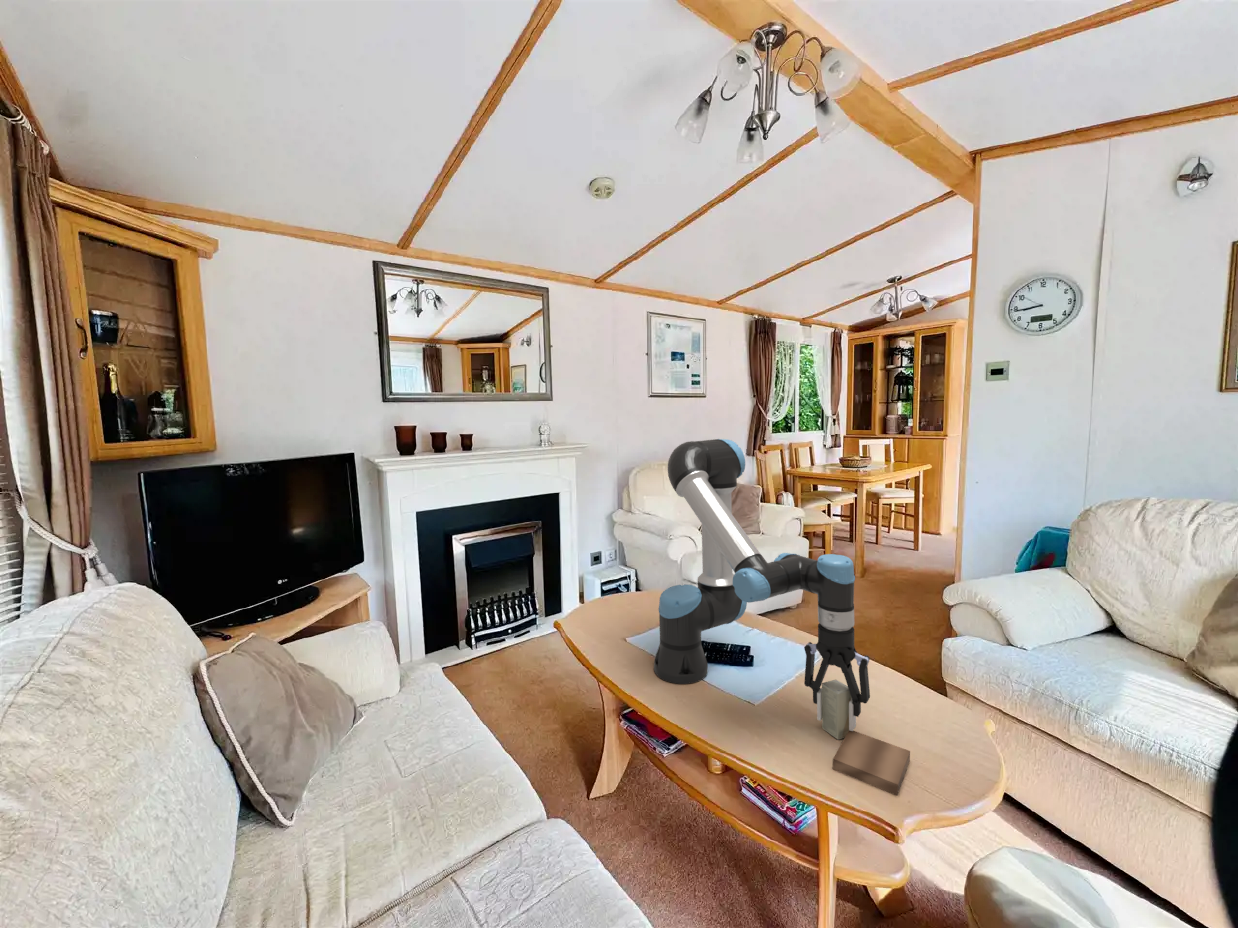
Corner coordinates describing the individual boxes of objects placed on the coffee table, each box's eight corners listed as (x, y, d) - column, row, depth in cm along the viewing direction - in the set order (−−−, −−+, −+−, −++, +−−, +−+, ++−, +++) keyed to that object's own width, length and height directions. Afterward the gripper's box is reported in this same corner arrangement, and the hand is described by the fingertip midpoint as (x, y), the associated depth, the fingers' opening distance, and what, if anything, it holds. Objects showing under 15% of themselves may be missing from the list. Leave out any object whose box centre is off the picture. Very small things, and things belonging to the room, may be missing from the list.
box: (852, 735, 117) (853, 689, 116) (837, 740, 115) (838, 693, 114) (834, 722, 122) (835, 678, 121) (820, 727, 120) (821, 682, 119)
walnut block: (832, 771, 107) (833, 758, 107) (849, 741, 116) (849, 729, 116) (897, 798, 99) (897, 784, 99) (909, 764, 109) (910, 750, 108)
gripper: (787, 621, 119) (788, 716, 121) (878, 641, 107) (878, 746, 109) (799, 610, 125) (800, 701, 127) (887, 628, 113) (886, 728, 115)
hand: (836, 722), depth 118 cm, fingers open, 6 cm apart
